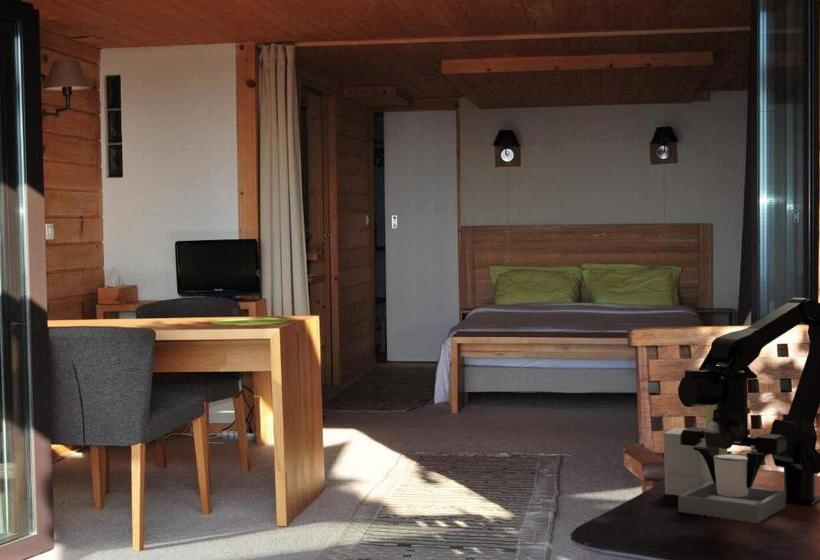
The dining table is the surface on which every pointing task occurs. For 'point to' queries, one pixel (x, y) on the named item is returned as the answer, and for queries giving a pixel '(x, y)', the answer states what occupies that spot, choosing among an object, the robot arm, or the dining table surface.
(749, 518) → the tray
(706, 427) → the robot arm
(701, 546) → the dining table surface
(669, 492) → the supplement box
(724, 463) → the white cup
